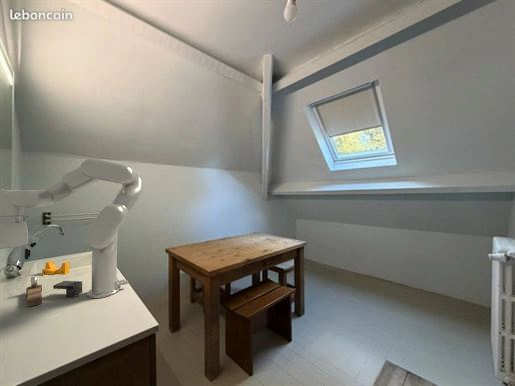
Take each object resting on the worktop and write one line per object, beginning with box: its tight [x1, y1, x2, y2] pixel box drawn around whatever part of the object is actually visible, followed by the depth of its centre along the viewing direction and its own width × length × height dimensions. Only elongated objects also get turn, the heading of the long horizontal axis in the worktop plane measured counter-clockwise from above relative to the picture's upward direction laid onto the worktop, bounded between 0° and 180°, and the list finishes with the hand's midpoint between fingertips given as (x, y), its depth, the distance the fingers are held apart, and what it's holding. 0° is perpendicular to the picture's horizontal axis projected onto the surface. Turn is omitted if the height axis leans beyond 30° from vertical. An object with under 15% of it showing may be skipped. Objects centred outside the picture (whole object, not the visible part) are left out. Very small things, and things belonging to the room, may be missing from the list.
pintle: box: [30, 276, 38, 287], centre depth 100 cm, size 2×2×4 cm
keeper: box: [52, 280, 83, 299], centre depth 99 cm, size 9×5×5 cm, turn 86°
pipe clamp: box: [41, 260, 70, 276], centre depth 123 cm, size 12×4×6 cm, turn 85°
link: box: [25, 284, 43, 308], centre depth 95 cm, size 18×5×2 cm, turn 46°
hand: (9, 261), depth 89 cm, fingers open, 9 cm apart
